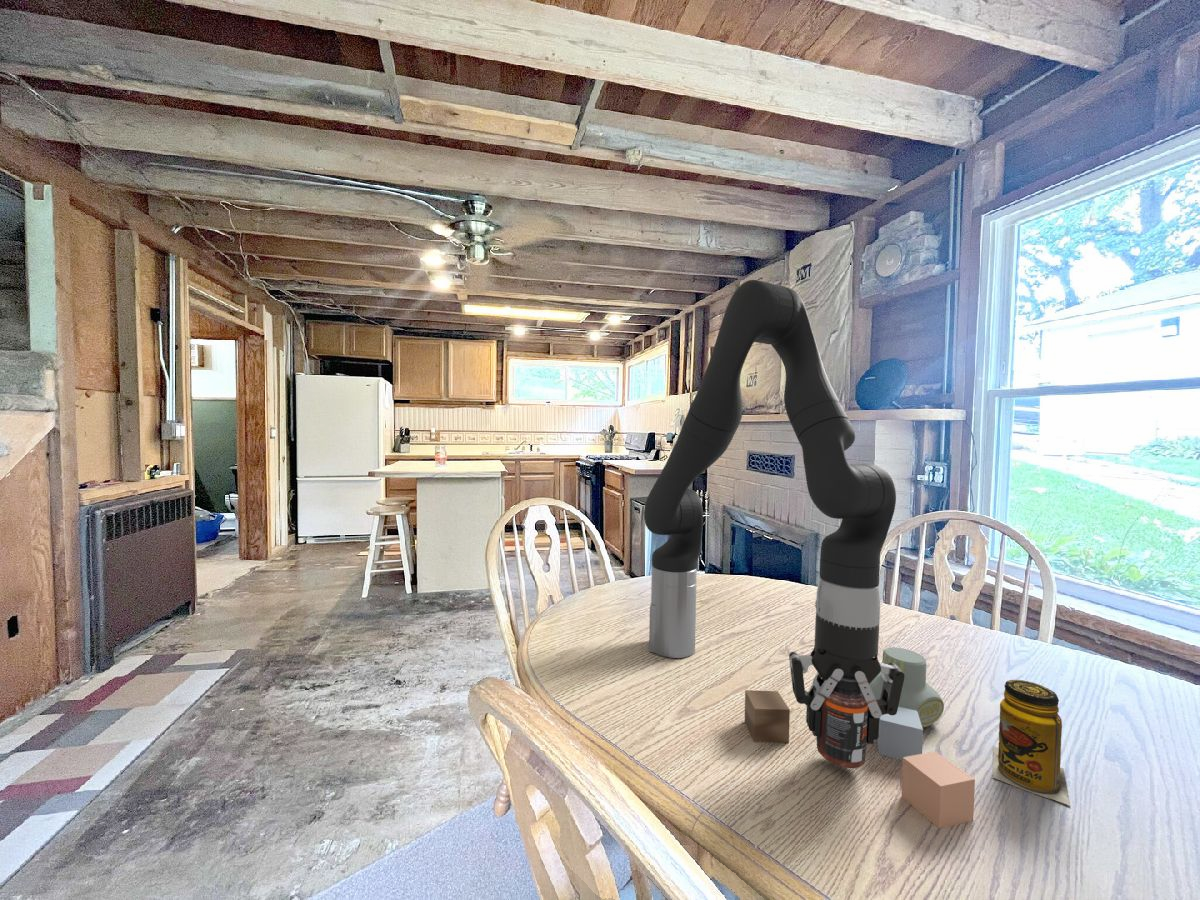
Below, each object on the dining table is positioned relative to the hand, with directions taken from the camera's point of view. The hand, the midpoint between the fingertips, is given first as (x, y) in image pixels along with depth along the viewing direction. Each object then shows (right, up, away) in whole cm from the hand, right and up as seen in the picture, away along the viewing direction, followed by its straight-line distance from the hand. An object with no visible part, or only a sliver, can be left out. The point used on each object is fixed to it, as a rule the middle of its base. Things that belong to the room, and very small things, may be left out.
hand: (841, 736), depth 64 cm
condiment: (+24, -5, -1) cm, 25 cm away
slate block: (+10, -4, +4) cm, 12 cm away
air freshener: (+16, -4, +12) cm, 20 cm away
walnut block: (-8, -4, +7) cm, 11 cm away
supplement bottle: (0, -3, 0) cm, 3 cm away
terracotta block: (+8, -5, -7) cm, 11 cm away
